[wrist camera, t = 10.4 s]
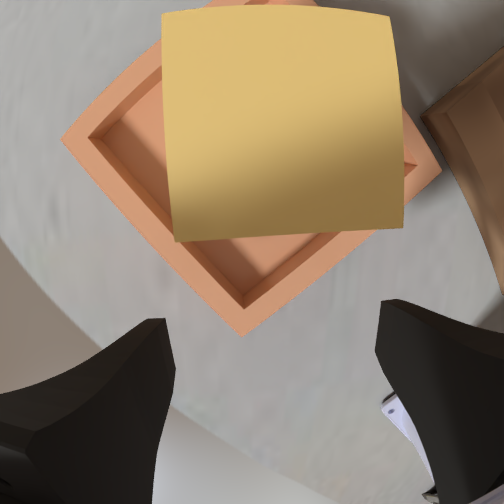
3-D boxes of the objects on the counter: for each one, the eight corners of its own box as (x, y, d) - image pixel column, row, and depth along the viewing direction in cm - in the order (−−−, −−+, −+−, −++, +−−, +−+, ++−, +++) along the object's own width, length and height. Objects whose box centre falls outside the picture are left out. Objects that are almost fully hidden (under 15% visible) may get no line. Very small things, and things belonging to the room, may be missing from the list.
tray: (415, 167, 15) (442, 170, 12) (240, 312, 17) (241, 337, 14) (268, -11, 12) (273, -35, 10) (84, 140, 14) (60, 139, 11)
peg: (299, 95, 13) (389, 16, 4) (304, 183, 14) (402, 228, 5) (207, 99, 13) (161, 13, 4) (213, 189, 14) (174, 242, 5)
